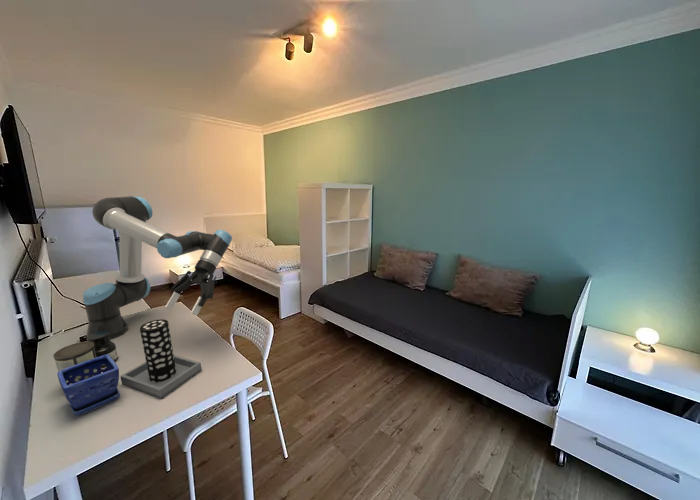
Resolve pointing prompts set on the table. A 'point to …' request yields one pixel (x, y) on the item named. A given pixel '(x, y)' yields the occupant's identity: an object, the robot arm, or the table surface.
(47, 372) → the table surface
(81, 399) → the flower pot
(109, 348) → the ink bottle
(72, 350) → the coffee can
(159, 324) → the white-spotted black cylinder
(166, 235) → the robot arm
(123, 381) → the tray
